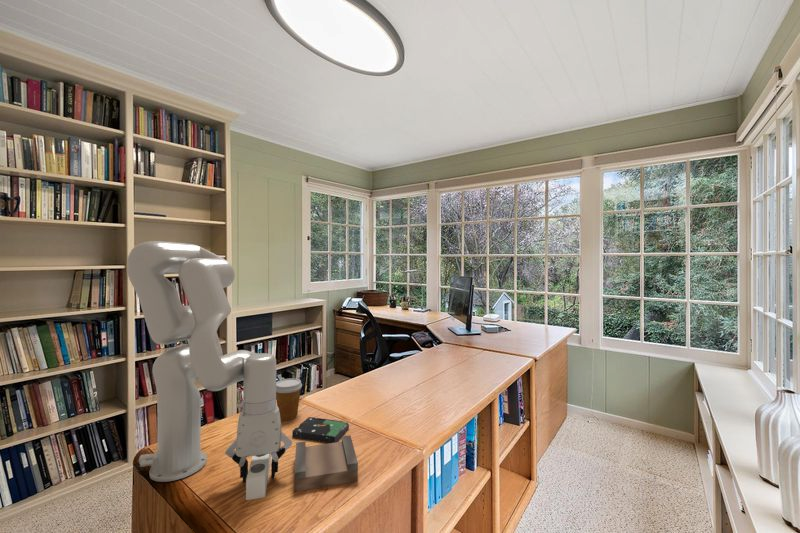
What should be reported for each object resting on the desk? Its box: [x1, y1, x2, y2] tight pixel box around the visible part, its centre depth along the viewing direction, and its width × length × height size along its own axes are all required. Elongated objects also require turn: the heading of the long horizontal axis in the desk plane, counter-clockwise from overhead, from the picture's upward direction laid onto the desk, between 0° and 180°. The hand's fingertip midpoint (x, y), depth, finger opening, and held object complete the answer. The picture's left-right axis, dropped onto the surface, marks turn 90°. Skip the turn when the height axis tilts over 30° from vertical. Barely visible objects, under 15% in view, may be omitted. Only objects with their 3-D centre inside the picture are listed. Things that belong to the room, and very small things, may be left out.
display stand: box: [293, 434, 359, 493], centre depth 87 cm, size 15×14×4 cm
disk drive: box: [291, 416, 350, 444], centre depth 106 cm, size 10×3×15 cm
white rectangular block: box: [245, 454, 272, 501], centre depth 83 cm, size 4×14×5 cm, turn 16°
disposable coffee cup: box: [276, 378, 303, 421], centre depth 118 cm, size 10×10×12 cm
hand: (259, 476), depth 83 cm, fingers open, 5 cm apart
